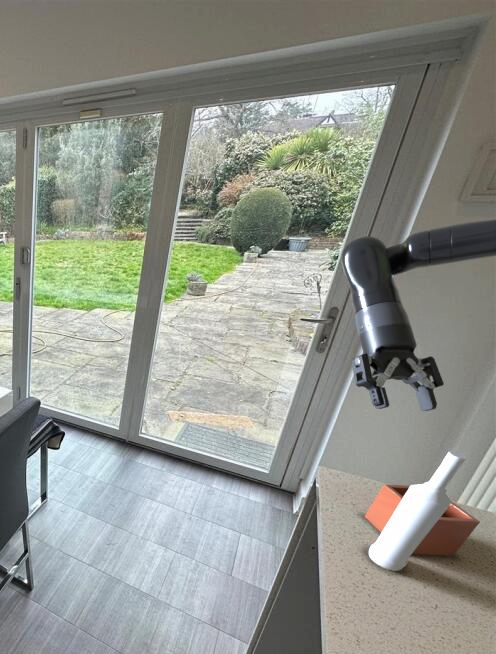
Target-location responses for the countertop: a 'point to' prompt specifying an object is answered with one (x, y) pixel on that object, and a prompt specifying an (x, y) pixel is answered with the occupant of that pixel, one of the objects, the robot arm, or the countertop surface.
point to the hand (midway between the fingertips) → (405, 408)
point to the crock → (442, 535)
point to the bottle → (415, 516)
